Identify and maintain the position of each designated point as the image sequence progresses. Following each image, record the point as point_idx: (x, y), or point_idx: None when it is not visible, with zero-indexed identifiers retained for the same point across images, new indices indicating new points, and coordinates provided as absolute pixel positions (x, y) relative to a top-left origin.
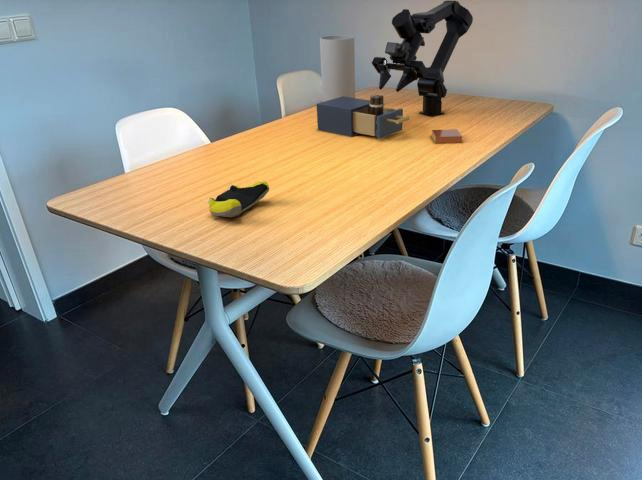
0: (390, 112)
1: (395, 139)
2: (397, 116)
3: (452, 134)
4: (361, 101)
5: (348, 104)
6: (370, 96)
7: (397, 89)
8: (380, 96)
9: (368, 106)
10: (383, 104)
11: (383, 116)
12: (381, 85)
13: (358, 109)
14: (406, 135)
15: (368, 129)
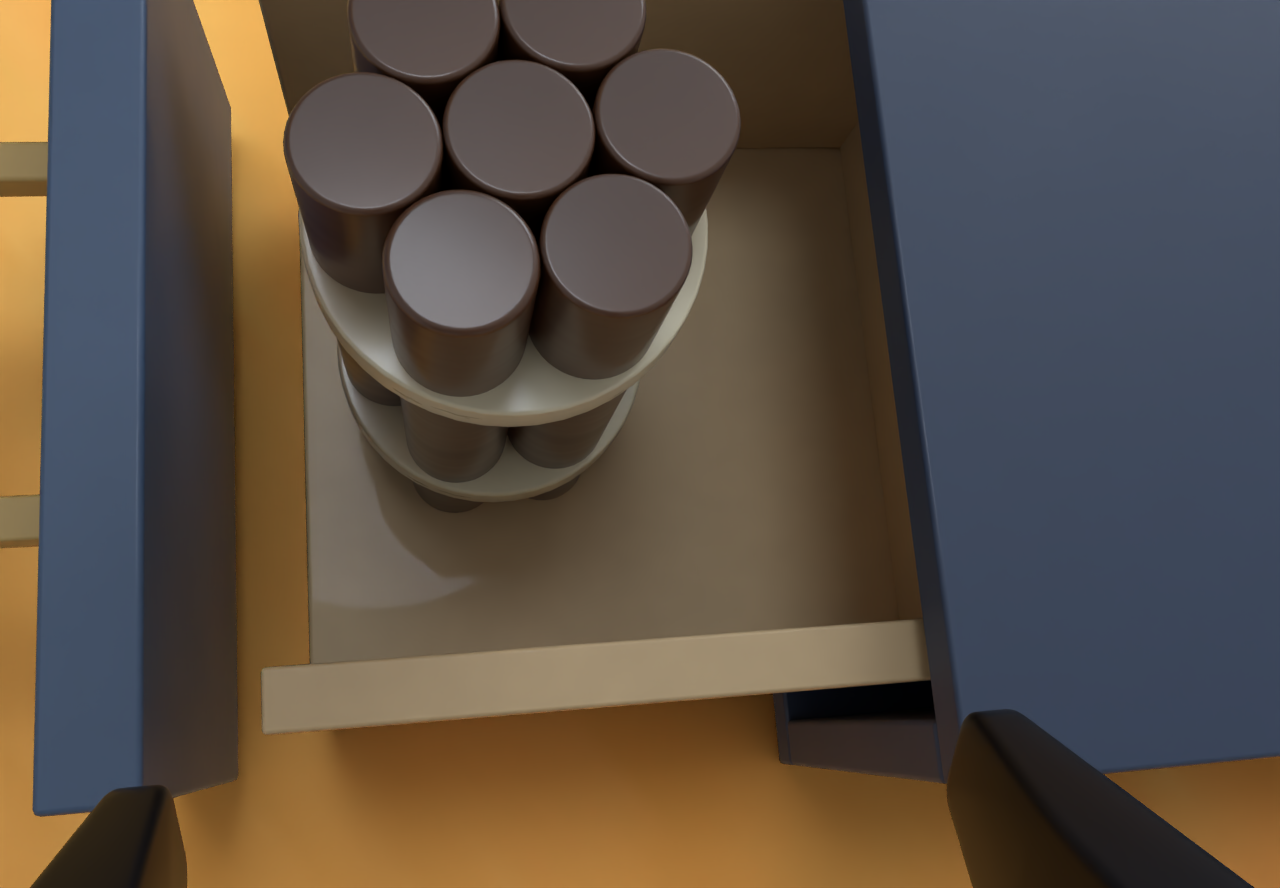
0: (85, 303)
1: (37, 383)
2: (20, 499)
3: None
4: (1242, 529)
5: (1222, 126)
6: (716, 76)
7: (94, 832)
8: (421, 179)
9: (899, 433)
10: (302, 249)
11: (57, 2)
12: (1013, 823)
13: (853, 74)
14: (12, 699)
15: None
